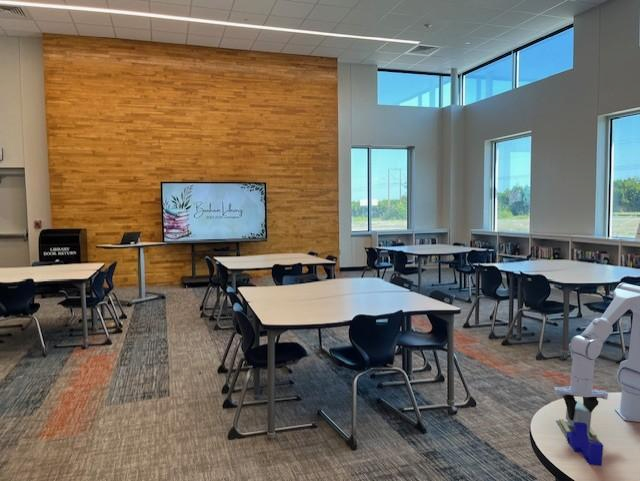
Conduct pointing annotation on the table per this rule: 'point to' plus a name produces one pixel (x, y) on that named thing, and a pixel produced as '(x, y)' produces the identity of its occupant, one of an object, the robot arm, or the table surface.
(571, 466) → the table surface
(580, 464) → the table surface
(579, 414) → the bar
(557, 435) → the table surface
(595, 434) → the guide rails
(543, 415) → the table surface
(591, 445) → the cable clip
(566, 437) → the guide mat
